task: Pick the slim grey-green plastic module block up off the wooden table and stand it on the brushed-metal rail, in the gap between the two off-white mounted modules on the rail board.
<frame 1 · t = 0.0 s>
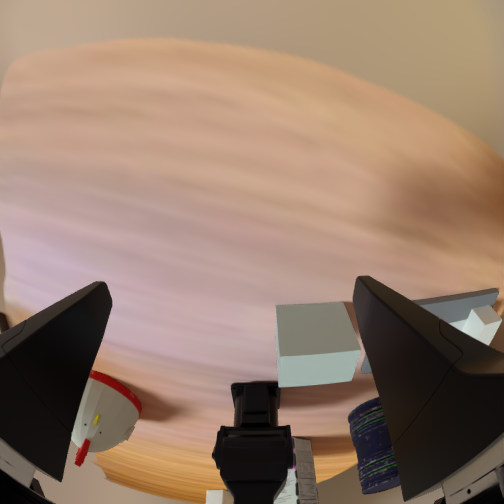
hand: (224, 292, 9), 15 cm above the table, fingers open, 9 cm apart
medicine bottle: (221, 491, 67), on the table
rail board: (435, 329, 30), on the table
kitchen timer: (104, 393, 38), on the table
storage jar: (374, 410, 39), on the table
candy bar box: (285, 446, 45), on the table
module block: (308, 320, 29), on the table
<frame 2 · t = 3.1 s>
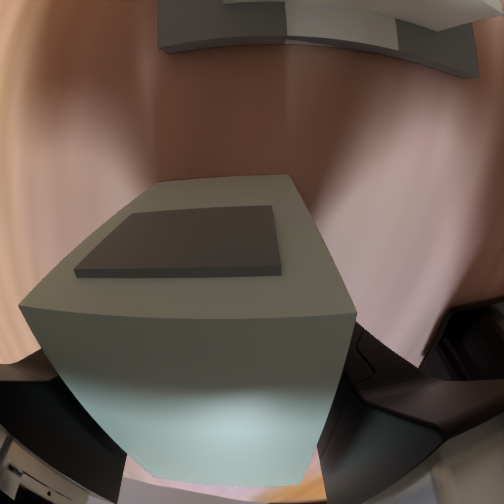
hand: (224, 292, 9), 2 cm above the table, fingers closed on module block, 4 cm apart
module block: (228, 268, 11), on the table, touching gripper
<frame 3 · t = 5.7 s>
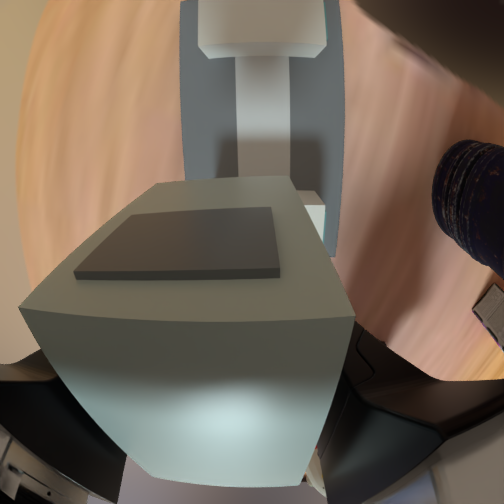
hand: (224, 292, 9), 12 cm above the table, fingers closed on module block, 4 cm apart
rail board: (263, 122, 18), on the table
kitchen timer: (338, 445, 40), on the table
storage jar: (468, 190, 19), on the table
candy bar box: (493, 309, 26), on the table
module block: (228, 269, 11), point 11 cm above the table, touching gripper
when the fingers open (4 cm above the table, at t = 8.4 s): module block drops 2 cm, resting on rail board.
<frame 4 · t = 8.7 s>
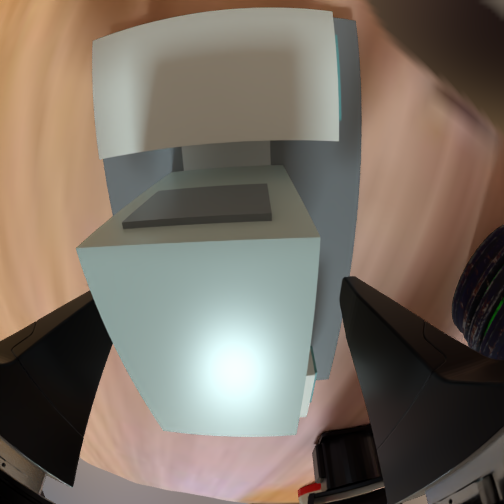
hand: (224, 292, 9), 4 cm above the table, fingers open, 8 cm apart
rail board: (234, 236, 13), on the table
kitchen timer: (334, 484, 36), on the table
storage jar: (495, 280, 15), on the table
module block: (232, 246, 12), point 1 cm above the table, touching rail board
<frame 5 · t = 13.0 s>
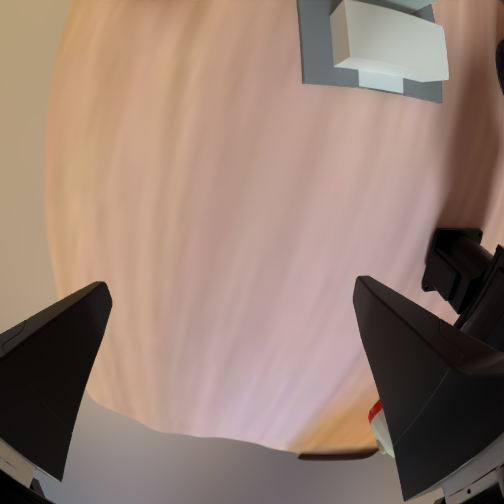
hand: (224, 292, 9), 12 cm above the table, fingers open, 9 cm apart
kitchen timer: (408, 401, 34), on the table
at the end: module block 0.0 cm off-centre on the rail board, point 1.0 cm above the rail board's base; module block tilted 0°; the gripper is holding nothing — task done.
